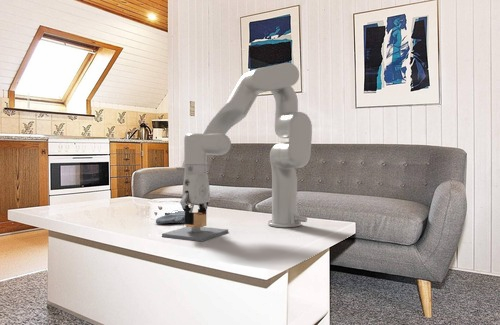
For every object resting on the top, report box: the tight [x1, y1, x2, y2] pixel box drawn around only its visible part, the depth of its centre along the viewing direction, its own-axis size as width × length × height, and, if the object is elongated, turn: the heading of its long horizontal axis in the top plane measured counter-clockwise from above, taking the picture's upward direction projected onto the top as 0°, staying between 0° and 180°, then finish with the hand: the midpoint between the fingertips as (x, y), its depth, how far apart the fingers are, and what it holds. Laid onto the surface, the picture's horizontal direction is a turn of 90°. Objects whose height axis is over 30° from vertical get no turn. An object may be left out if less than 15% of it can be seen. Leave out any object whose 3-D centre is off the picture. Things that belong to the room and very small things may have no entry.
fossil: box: [155, 210, 185, 225], centre depth 162 cm, size 13×18×4 cm
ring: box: [184, 211, 207, 228], centre depth 136 cm, size 7×7×4 cm
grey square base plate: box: [161, 226, 229, 242], centre depth 136 cm, size 16×16×6 cm
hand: (195, 222), depth 136 cm, fingers closed on ring, 6 cm apart
